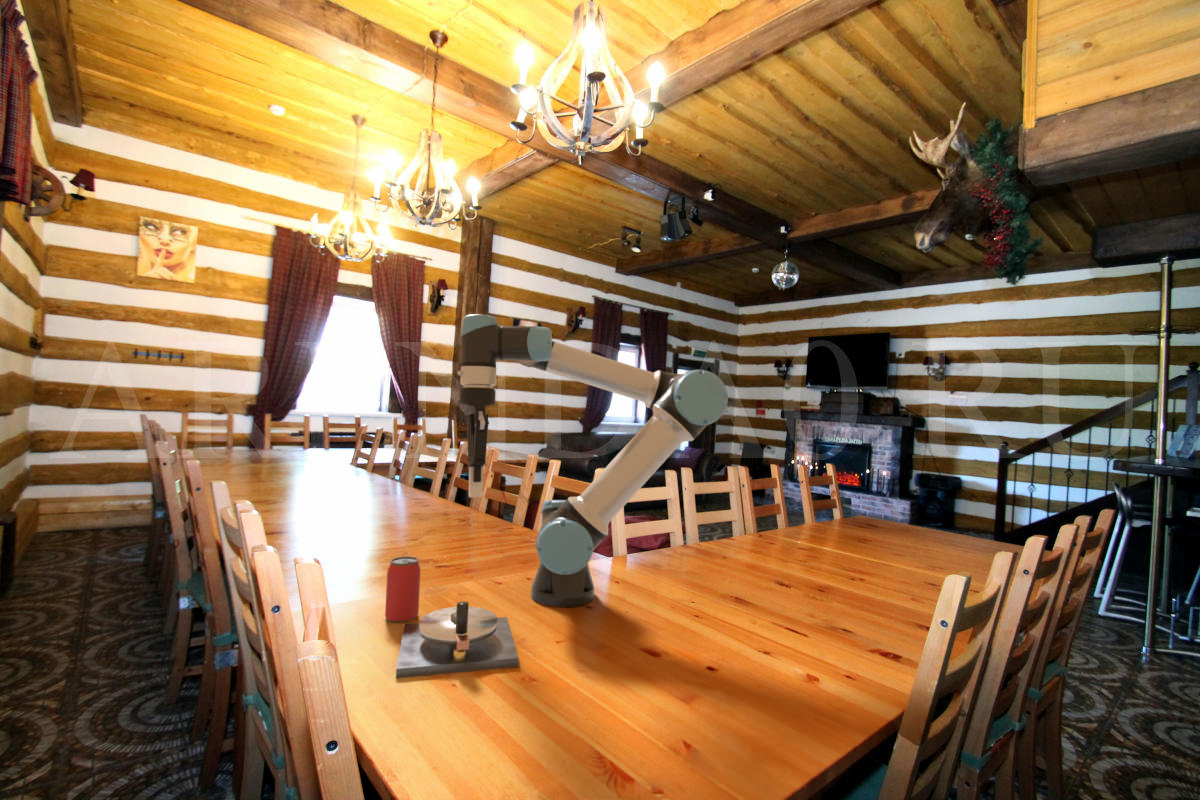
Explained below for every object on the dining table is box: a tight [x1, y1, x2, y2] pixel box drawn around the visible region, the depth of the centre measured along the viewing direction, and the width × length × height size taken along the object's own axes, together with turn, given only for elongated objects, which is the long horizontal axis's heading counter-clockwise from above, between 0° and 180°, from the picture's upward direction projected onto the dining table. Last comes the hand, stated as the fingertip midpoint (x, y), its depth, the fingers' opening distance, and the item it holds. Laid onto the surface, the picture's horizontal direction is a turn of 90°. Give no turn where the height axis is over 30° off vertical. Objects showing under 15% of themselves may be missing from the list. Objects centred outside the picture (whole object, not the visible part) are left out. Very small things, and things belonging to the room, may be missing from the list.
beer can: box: [384, 556, 421, 623], centre depth 114 cm, size 7×7×12 cm
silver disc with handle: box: [418, 601, 498, 650], centre depth 99 cm, size 16×14×6 cm
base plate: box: [395, 616, 520, 679], centre depth 100 cm, size 20×19×4 cm
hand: (475, 496), depth 116 cm, fingers closed
